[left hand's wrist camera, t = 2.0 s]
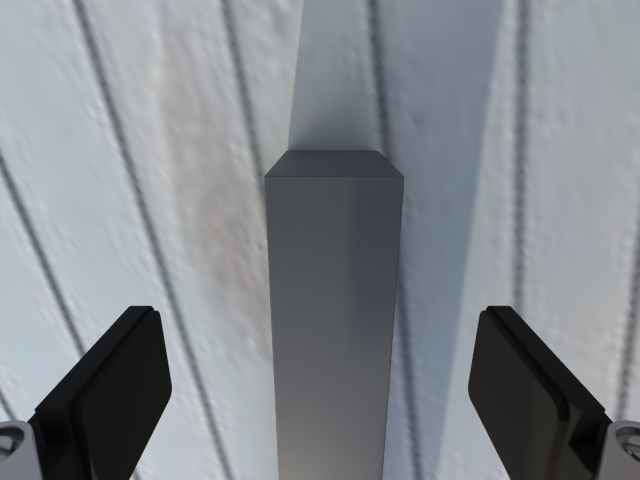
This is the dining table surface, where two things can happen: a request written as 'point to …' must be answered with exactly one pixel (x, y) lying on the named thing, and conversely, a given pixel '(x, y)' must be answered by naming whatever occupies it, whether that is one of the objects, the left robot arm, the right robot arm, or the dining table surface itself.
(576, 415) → the left robot arm
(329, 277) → the beam
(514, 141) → the dining table surface
